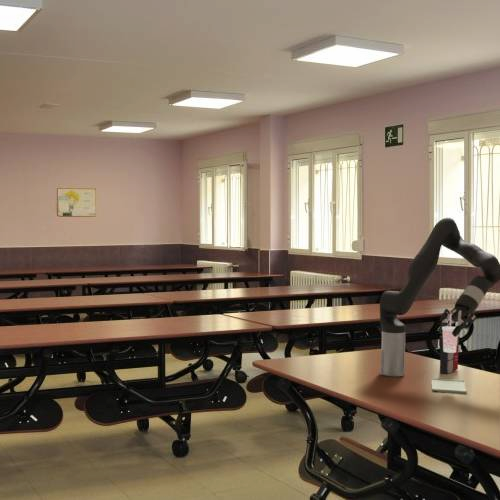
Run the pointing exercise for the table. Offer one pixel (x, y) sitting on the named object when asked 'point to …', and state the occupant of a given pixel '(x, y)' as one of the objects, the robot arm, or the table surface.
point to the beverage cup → (449, 339)
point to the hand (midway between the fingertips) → (446, 333)
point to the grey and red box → (448, 359)
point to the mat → (448, 386)
